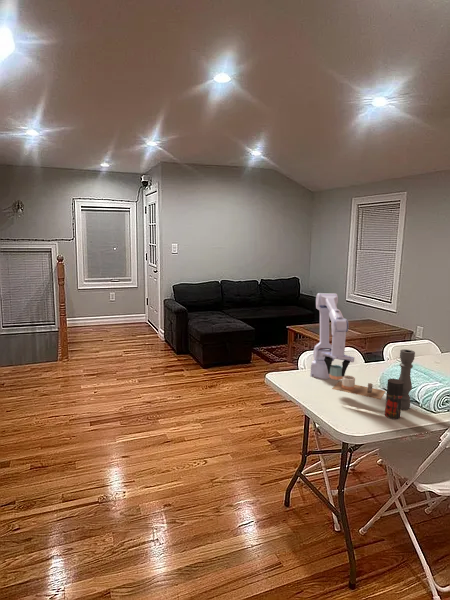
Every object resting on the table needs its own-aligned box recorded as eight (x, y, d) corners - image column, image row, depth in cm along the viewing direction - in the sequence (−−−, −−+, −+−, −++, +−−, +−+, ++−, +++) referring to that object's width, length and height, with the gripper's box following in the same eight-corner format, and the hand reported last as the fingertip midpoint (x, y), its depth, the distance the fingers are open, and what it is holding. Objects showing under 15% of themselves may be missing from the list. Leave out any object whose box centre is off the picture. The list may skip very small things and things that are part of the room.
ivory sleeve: (340, 388, 194) (341, 378, 193) (343, 384, 199) (344, 374, 198) (352, 390, 191) (353, 380, 190) (355, 387, 196) (356, 377, 195)
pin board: (331, 391, 193) (332, 380, 192) (338, 383, 203) (339, 373, 202) (380, 402, 182) (381, 390, 181) (385, 393, 192) (386, 382, 191)
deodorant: (382, 412, 171) (385, 378, 168) (395, 412, 171) (399, 378, 169) (388, 419, 165) (392, 384, 162) (402, 419, 165) (406, 383, 163)
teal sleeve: (328, 378, 185) (328, 367, 184) (331, 374, 190) (332, 364, 189) (340, 380, 182) (341, 369, 181) (343, 376, 187) (344, 366, 186)
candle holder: (409, 405, 179) (414, 350, 175) (410, 411, 173) (416, 354, 169) (393, 403, 181) (399, 348, 177) (394, 408, 175) (400, 352, 171)
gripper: (319, 344, 184) (317, 373, 186) (352, 350, 176) (350, 380, 178) (324, 341, 190) (322, 369, 192) (356, 346, 182) (354, 375, 184)
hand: (336, 374), depth 186 cm, fingers closed on teal sleeve, 6 cm apart
